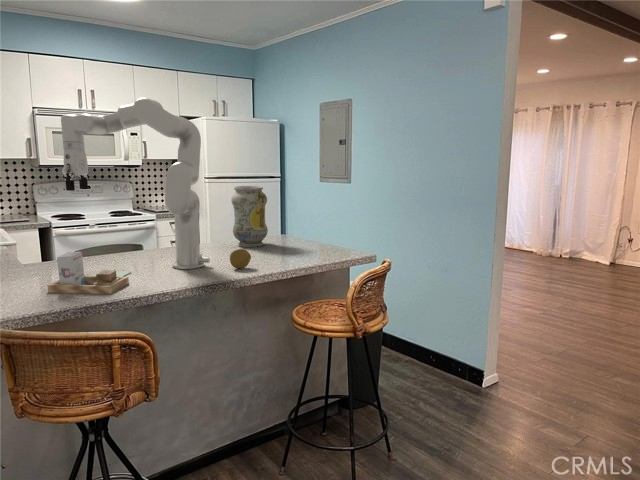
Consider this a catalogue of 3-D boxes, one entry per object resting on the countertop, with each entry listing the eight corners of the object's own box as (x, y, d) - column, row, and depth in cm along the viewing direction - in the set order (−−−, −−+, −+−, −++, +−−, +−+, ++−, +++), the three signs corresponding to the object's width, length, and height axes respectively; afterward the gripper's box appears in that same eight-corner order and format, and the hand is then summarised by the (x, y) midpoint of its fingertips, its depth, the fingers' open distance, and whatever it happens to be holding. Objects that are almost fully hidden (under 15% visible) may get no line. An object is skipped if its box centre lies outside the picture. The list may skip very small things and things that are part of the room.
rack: (128, 283, 164) (128, 276, 164) (110, 294, 151) (109, 286, 151) (71, 282, 165) (70, 275, 165) (48, 292, 153) (47, 285, 152)
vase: (251, 249, 226) (250, 188, 221) (225, 245, 236) (223, 186, 231) (274, 244, 241) (274, 186, 236) (248, 240, 251) (247, 185, 246)
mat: (131, 272, 180) (131, 271, 180) (113, 282, 166) (112, 280, 166) (101, 271, 181) (101, 270, 180) (80, 281, 167) (80, 280, 167)
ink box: (70, 284, 163) (68, 251, 161) (85, 284, 163) (83, 251, 161) (59, 291, 154) (56, 256, 152) (75, 290, 155) (72, 256, 153)
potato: (227, 269, 186) (226, 250, 184) (237, 265, 193) (236, 246, 191) (242, 271, 183) (242, 251, 182) (252, 267, 190) (251, 248, 189)
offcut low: (119, 286, 161) (118, 278, 161) (109, 292, 154) (108, 283, 154) (105, 286, 162) (104, 278, 161) (94, 292, 155) (93, 283, 154)
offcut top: (116, 278, 161) (115, 270, 160) (110, 282, 155) (109, 274, 154) (103, 278, 160) (102, 270, 160) (96, 283, 154) (96, 274, 154)
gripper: (70, 146, 177) (74, 191, 180) (94, 147, 194) (97, 188, 197) (51, 146, 177) (55, 191, 180) (76, 147, 194) (80, 188, 197)
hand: (77, 189), depth 188 cm, fingers open, 9 cm apart
